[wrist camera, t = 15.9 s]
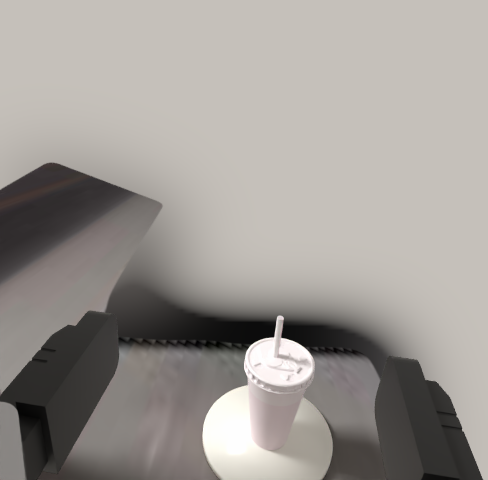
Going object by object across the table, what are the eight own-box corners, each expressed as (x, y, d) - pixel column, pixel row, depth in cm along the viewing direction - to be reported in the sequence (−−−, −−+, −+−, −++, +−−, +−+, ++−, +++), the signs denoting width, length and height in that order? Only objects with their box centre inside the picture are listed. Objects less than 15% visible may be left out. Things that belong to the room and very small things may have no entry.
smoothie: (260, 398, 46) (274, 291, 40) (312, 430, 43) (336, 319, 37) (224, 437, 41) (233, 322, 35) (279, 476, 38) (300, 357, 32)
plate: (180, 473, 38) (180, 467, 38) (227, 376, 50) (228, 371, 49) (321, 524, 35) (323, 519, 35) (338, 409, 47) (339, 404, 46)
